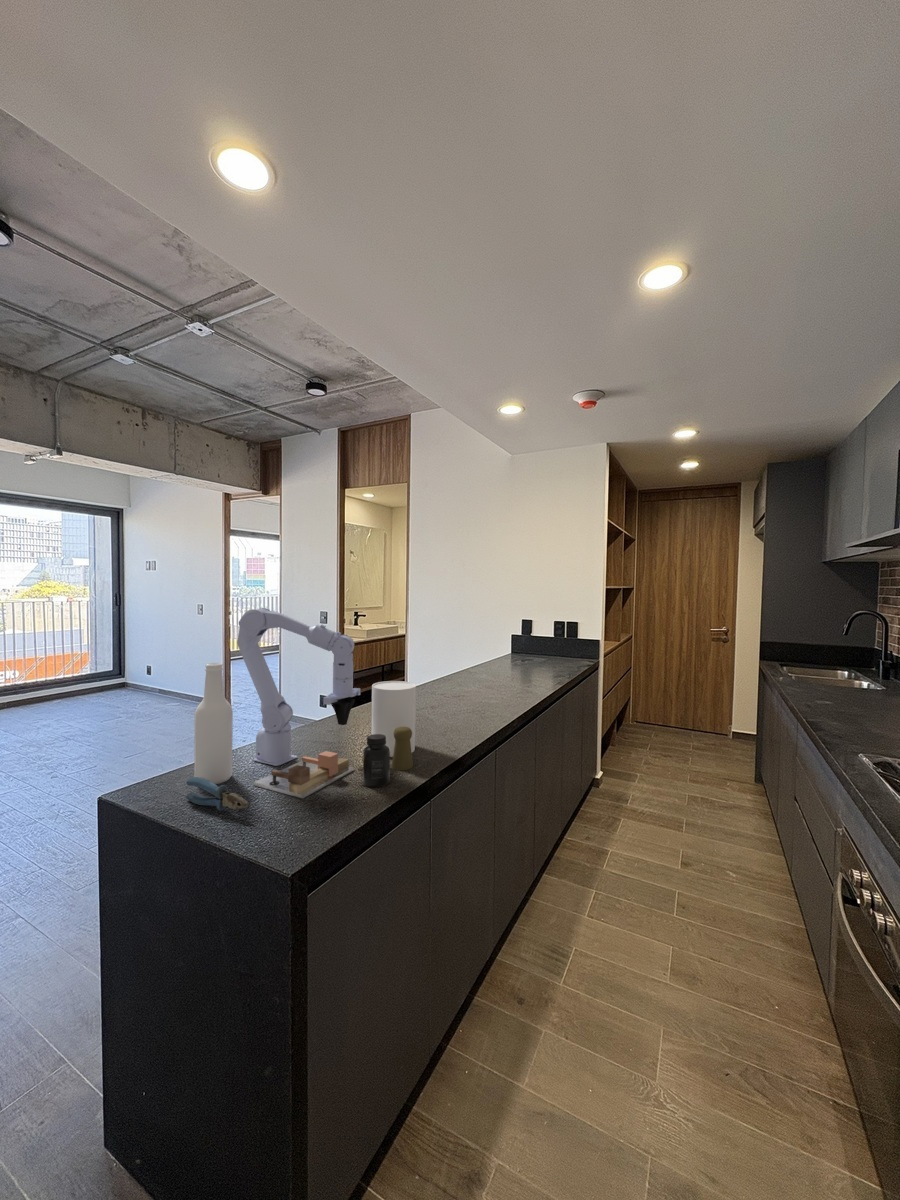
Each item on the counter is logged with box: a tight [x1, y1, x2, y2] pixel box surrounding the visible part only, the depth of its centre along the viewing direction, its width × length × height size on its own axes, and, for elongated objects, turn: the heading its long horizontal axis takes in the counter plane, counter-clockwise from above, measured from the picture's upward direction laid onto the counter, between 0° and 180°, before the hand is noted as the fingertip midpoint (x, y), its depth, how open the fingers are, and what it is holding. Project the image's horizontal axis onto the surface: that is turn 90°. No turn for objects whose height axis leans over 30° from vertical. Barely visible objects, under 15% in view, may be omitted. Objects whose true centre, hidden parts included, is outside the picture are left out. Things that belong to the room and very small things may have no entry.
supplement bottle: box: [362, 734, 391, 788], centre depth 126 cm, size 7×7×12 cm
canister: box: [370, 680, 417, 758], centre depth 151 cm, size 14×14×20 cm
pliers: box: [186, 776, 250, 811], centre depth 109 cm, size 20×2×6 cm, turn 61°
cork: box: [391, 727, 414, 771], centre depth 137 cm, size 6×6×11 cm
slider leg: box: [301, 750, 339, 777], centre depth 130 cm, size 10×3×5 cm, turn 64°
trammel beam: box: [270, 757, 350, 794], centre depth 127 cm, size 10×20×5 cm, turn 154°
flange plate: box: [253, 760, 355, 799], centre depth 128 cm, size 16×20×1 cm
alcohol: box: [193, 662, 234, 785], centre depth 125 cm, size 9×9×30 cm
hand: (342, 724), depth 141 cm, fingers closed
